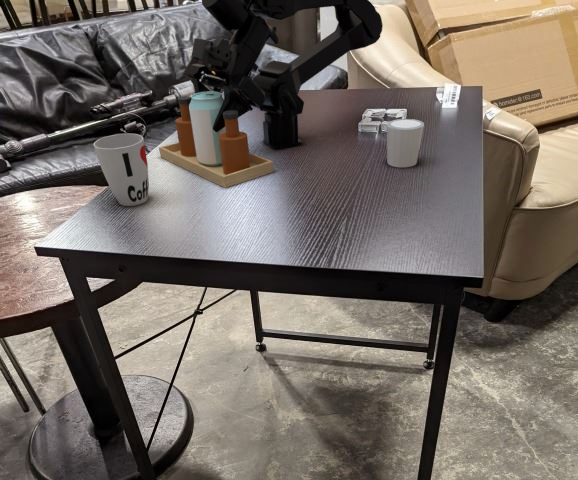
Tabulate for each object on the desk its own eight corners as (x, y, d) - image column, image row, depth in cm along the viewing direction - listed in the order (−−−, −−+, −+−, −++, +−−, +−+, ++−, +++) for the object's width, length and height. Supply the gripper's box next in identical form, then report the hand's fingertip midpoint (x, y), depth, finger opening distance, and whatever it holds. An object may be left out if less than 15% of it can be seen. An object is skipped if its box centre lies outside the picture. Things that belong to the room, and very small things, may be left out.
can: (194, 158, 107) (183, 93, 99) (227, 153, 109) (219, 88, 101) (202, 169, 102) (192, 101, 94) (237, 163, 104) (229, 96, 96)
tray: (160, 157, 110) (158, 147, 109) (205, 144, 115) (204, 134, 114) (225, 188, 96) (223, 177, 94) (273, 171, 101) (272, 161, 99)
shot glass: (398, 154, 105) (401, 116, 100) (427, 161, 101) (432, 122, 96) (376, 163, 101) (379, 124, 97) (406, 171, 98) (409, 131, 93)
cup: (133, 212, 89) (117, 151, 82) (100, 204, 93) (82, 145, 86) (165, 195, 94) (153, 136, 88) (133, 188, 98) (119, 131, 91)
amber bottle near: (244, 164, 103) (238, 106, 96) (254, 172, 99) (249, 113, 92) (219, 170, 101) (211, 111, 94) (229, 178, 98) (222, 118, 91)
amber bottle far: (201, 147, 113) (192, 93, 106) (209, 153, 109) (201, 98, 102) (177, 151, 111) (168, 97, 104) (185, 158, 107) (175, 102, 100)
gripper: (186, 13, 97) (146, 91, 99) (245, 20, 86) (198, 108, 88) (227, 55, 106) (189, 126, 108) (285, 67, 94) (242, 146, 97)
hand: (203, 126), depth 100 cm, fingers open, 8 cm apart
